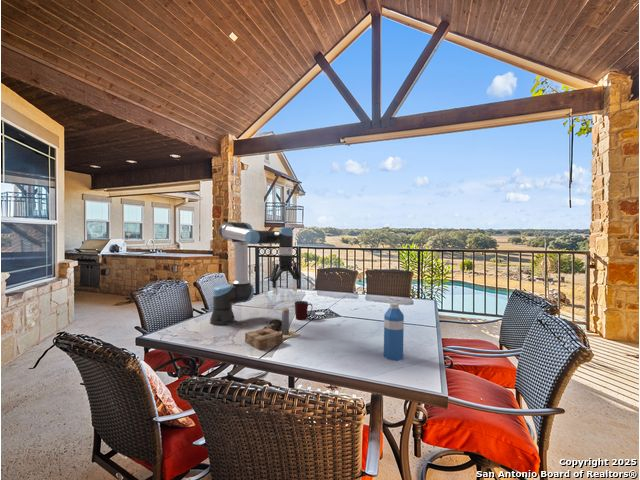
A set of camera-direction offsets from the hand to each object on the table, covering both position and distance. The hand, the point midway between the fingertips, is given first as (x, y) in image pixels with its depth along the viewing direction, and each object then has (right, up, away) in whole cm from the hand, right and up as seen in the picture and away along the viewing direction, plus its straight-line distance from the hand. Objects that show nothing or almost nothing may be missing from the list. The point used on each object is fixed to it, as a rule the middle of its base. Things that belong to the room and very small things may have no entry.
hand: (285, 292), depth 169 cm
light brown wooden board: (0, -24, 0) cm, 24 cm away
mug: (+8, -24, +33) cm, 42 cm away
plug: (0, -24, 0) cm, 24 cm away
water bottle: (+54, -26, -29) cm, 66 cm away
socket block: (-10, -24, -13) cm, 29 cm away
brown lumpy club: (-8, -24, +6) cm, 26 cm away
